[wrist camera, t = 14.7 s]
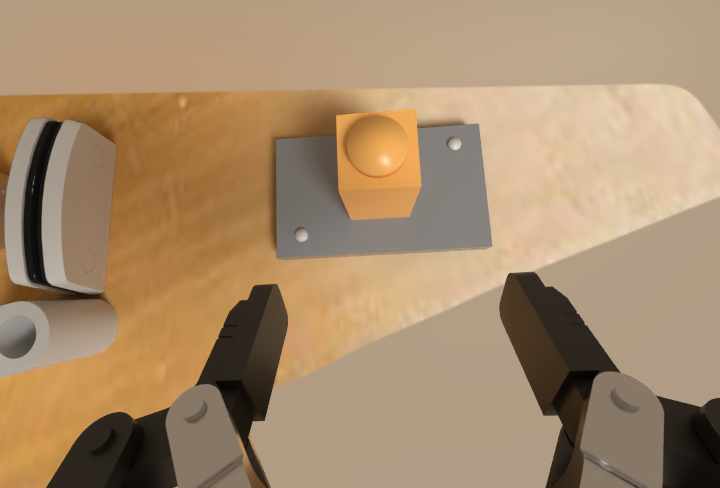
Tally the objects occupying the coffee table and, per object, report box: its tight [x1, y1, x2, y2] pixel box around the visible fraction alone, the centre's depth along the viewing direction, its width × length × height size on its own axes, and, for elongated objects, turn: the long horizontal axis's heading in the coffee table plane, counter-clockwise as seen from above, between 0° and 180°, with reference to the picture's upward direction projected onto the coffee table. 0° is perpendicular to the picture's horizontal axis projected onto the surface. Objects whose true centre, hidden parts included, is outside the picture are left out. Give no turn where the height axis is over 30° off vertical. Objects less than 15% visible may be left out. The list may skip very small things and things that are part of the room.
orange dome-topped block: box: [336, 109, 421, 220], centre depth 25 cm, size 6×6×10 cm
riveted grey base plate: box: [276, 124, 492, 260], centre depth 28 cm, size 20×12×7 cm, turn 93°
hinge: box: [5, 118, 117, 296], centre depth 30 cm, size 17×5×10 cm, turn 2°
